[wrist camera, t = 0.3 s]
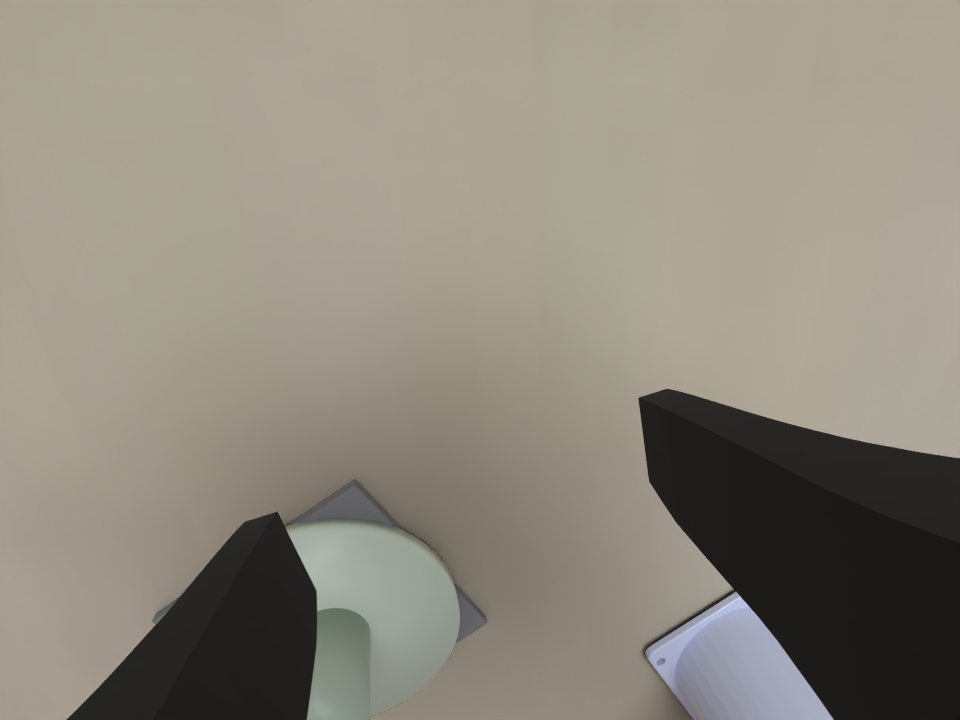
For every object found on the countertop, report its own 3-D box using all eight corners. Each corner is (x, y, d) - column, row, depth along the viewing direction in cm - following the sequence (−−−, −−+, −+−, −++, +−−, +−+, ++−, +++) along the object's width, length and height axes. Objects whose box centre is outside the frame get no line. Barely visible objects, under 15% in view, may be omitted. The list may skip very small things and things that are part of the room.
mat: (485, 615, 25) (487, 622, 24) (316, 725, 25) (315, 734, 25) (355, 479, 21) (354, 485, 20) (156, 613, 21) (152, 621, 21)
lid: (501, 622, 25) (529, 723, 20) (313, 743, 25) (301, 867, 21) (357, 469, 20) (353, 556, 16) (132, 620, 21) (67, 745, 16)
